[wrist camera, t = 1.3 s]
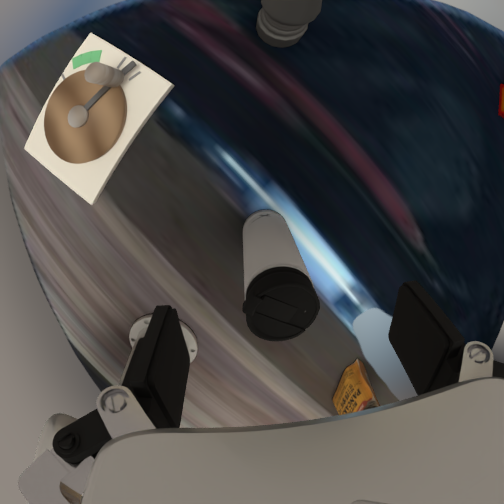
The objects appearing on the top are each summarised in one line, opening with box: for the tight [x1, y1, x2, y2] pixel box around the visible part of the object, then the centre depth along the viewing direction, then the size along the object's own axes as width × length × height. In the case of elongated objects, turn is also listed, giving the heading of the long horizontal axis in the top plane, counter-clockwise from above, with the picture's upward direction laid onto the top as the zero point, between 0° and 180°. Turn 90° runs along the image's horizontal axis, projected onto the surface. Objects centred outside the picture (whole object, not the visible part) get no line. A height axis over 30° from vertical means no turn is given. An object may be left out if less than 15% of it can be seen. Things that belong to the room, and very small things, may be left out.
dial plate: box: [24, 33, 175, 205], centre depth 32 cm, size 20×16×2 cm
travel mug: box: [243, 210, 320, 341], centre depth 32 cm, size 6×7×20 cm
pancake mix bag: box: [333, 358, 380, 415], centre depth 44 cm, size 7×19×28 cm, turn 176°
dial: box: [44, 60, 137, 164], centre depth 27 cm, size 16×13×8 cm
